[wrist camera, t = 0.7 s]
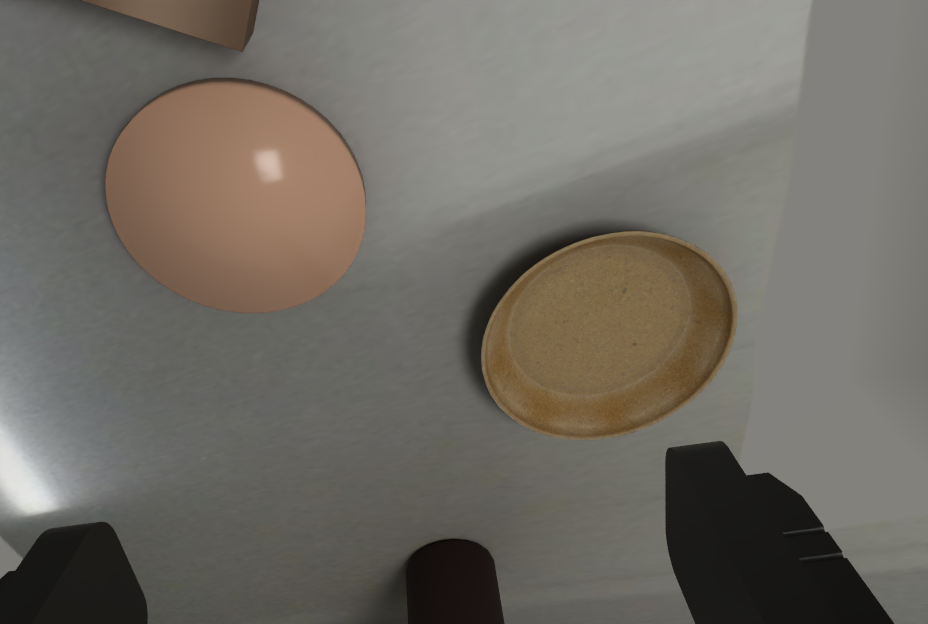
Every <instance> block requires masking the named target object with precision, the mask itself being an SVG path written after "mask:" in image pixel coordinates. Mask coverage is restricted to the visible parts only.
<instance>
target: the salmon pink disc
mask: <svg viewBox="0 0 928 624" xmlns="http://www.w3.org/2000/svg"><path fill="white" fill-rule="evenodd" d="M105 193H106V199H107V206H108V210H109V213H110V217H111V220H112V223H113V225H114V227H115V230H116V232H117V234H118V236H119V238H120V240H121V241H122V243H123V244H124V246H125V248H126V249H127V251H128V252H129V253H130V254H131V256H132V257H133V258H134V259H135V261H136V262H137V263H138V264H139V265H140V266H141V267H142V268H143V269H144V270H145V271H146V272H147V273H148V274H149V275H151V276H152V277H153V278H154V279H156V280H157V281H158V282H159V283H161V284H162V285H164V286H165V287H167V288H168V289H170V290H172V291H173V292H175V293H177V294H179V295H181V296H183V297H185V298H187V299H189V300H191V301H194V302H196V303H199V304H202V305H204V306H208V307H212V308H215V309H219V310H225V311H231V312H239V313H266V312H273V311H280V310H284V309H287V308H291V307H295V306H297V305H300V304H302V303H305V302H308V301H309V300H311V299H313V298H315V297H317V296H319V295H320V294H322V293H323V292H325V291H326V290H327V289H329V288H330V287H332V286H333V285H334V284H335V283H336V282H337V281H338V280H339V279H340V278H341V277H342V276H343V274H344V273H345V272H346V271H347V269H348V268H349V267H350V265H351V264H352V262H353V260H354V258H355V257H356V255H357V253H358V250H359V248H360V245H361V243H362V238H363V234H364V230H365V219H366V195H365V187H364V182H363V177H362V174H361V171H360V168H359V165H358V162H357V160H356V158H355V156H354V154H353V152H352V150H351V149H350V147H349V145H348V144H347V142H346V141H345V139H344V138H343V137H342V135H341V134H340V133H339V131H338V130H337V129H336V128H335V127H334V126H333V125H332V124H331V123H330V121H329V120H327V119H326V118H325V117H324V116H323V115H322V114H321V113H319V112H318V111H317V110H316V109H315V108H313V107H312V106H310V105H309V104H307V103H306V102H304V101H303V100H301V99H299V98H298V97H296V96H294V95H292V94H290V93H288V92H286V91H284V90H281V89H278V88H276V87H273V86H270V85H268V84H264V83H260V82H256V81H252V80H245V79H237V78H210V79H203V80H196V81H192V82H189V83H185V84H182V85H178V86H176V87H174V88H172V89H170V90H167V91H165V92H163V93H162V94H160V95H159V96H157V97H155V98H154V99H152V100H151V101H149V102H148V103H147V104H146V105H145V106H144V107H143V108H142V109H141V110H139V111H138V112H137V114H136V115H135V116H134V117H133V119H132V120H131V121H130V122H129V124H128V125H127V126H126V128H125V129H124V130H123V131H122V133H121V134H120V136H119V138H118V139H117V141H116V143H115V145H114V147H113V149H112V152H111V155H110V158H109V161H108V165H107V171H106V181H105Z"/></svg>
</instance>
